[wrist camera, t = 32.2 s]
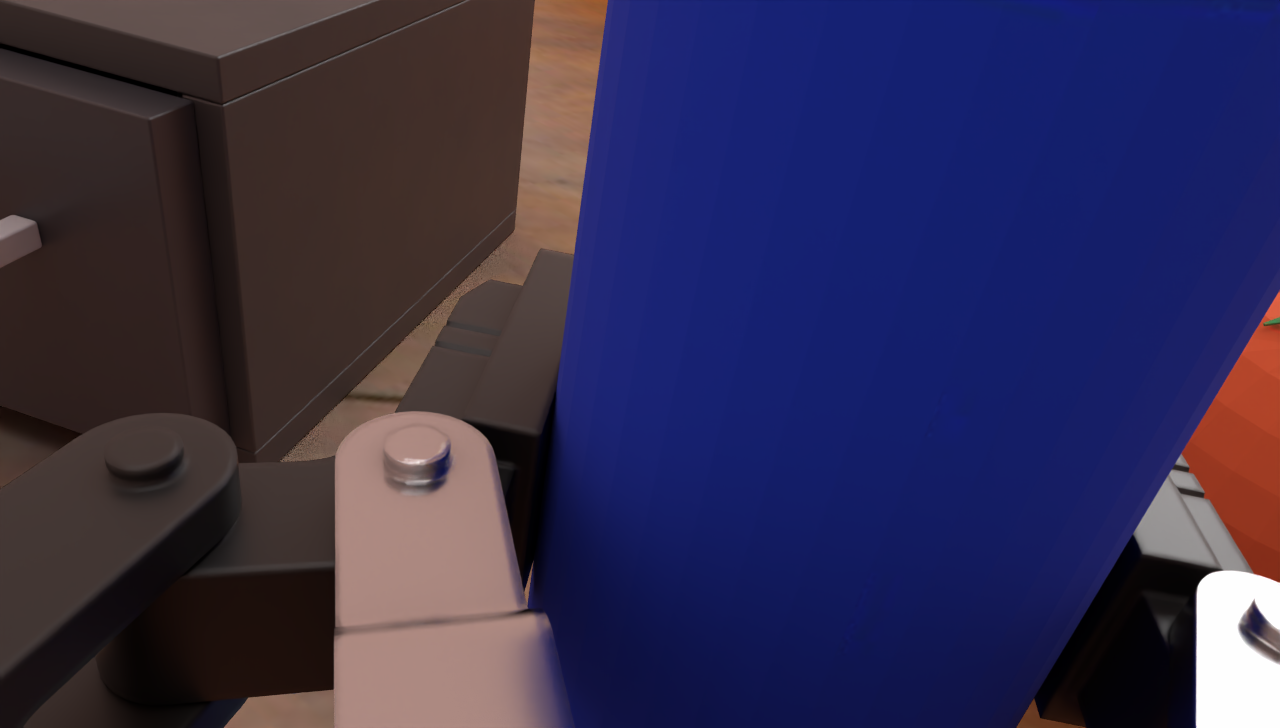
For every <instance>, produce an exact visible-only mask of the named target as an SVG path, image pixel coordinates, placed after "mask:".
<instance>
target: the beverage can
mask: <svg viewBox="0 0 1280 728" xmlns="http://www.w3.org/2000/svg"><path fill="white" fill-rule="evenodd" d="M1279 291H1280V0H608V5H607V13H606V20H605V28H604V35H603V43H602V50H601V58H600V65H599V73H598V80H597V88H596V95H595V103H594V110H593V118H592V125H591V133H590V140H589V148H588V155H587V163H586V170H585V178H584V185H583V193H582V200H581V208H580V215H579V223H578V230H577V238H576V245H575V253H574V260H573V268H572V275H571V283H570V290H569V298H568V305H567V313H566V320H565V328H564V336H563V343H562V351H561V358H560V366H559V373H558V381H557V388H556V396H555V403H554V411H553V418H552V426H551V433H550V441H549V448H548V456H547V463H546V471H545V478H544V486H543V493H542V501H541V508H540V516H539V523H538V531H537V538H536V546H535V553H534V561H533V568H532V576H531V583H530V591H529V598H528V606H527V607H528V609H532V608H542V609H543V610H544V611H545V613H546V615H547V617H548V619H549V622H550V625H551V628H552V631H553V635H554V639H555V644H556V648H557V652H558V656H559V661H560V665H561V669H562V674H563V678H564V682H565V687H566V691H567V695H568V700H569V704H570V708H571V712H572V717H573V721H574V725H575V728H1016V727H1017V725H1018V724H1019V722H1020V720H1021V719H1022V717H1023V715H1024V714H1025V712H1026V710H1027V709H1028V707H1029V705H1030V704H1031V702H1032V700H1033V699H1034V697H1035V695H1036V694H1037V692H1038V690H1039V689H1040V687H1041V686H1042V684H1043V682H1044V681H1045V679H1046V677H1047V676H1048V674H1049V672H1050V671H1051V669H1052V667H1053V666H1054V664H1055V662H1056V661H1057V659H1058V657H1059V656H1060V654H1061V652H1062V651H1063V649H1064V647H1065V646H1066V644H1067V642H1068V641H1069V639H1070V637H1071V636H1072V634H1073V632H1074V631H1075V629H1076V627H1077V626H1078V624H1079V622H1080V621H1081V619H1082V617H1083V616H1084V614H1085V613H1086V611H1087V609H1088V608H1089V606H1090V604H1091V603H1092V601H1093V599H1094V598H1095V596H1096V594H1097V593H1098V591H1099V589H1100V588H1101V586H1102V584H1103V583H1104V581H1105V579H1106V578H1107V576H1108V574H1109V573H1110V571H1111V569H1112V568H1113V566H1114V564H1115V563H1116V561H1117V559H1118V558H1119V556H1120V554H1121V553H1122V551H1123V549H1124V548H1125V546H1126V545H1127V543H1128V541H1129V540H1130V538H1131V536H1132V535H1133V533H1134V531H1135V530H1136V528H1137V526H1138V525H1139V523H1140V521H1141V520H1142V518H1143V516H1144V515H1145V513H1146V511H1147V510H1148V508H1149V506H1150V505H1151V503H1152V501H1153V500H1154V498H1155V496H1156V495H1157V493H1158V491H1159V490H1160V488H1161V486H1162V485H1163V483H1164V481H1165V480H1166V478H1167V476H1168V475H1169V473H1170V472H1171V470H1172V468H1173V467H1174V465H1175V463H1176V462H1177V460H1178V458H1179V457H1180V455H1181V453H1182V452H1183V450H1184V448H1185V447H1186V445H1187V443H1188V442H1189V440H1190V438H1191V437H1192V435H1193V433H1194V432H1195V430H1196V428H1197V427H1198V425H1199V423H1200V422H1201V420H1202V418H1203V417H1204V415H1205V413H1206V412H1207V410H1208V408H1209V407H1210V405H1211V404H1212V402H1213V400H1214V399H1215V397H1216V395H1217V394H1218V392H1219V390H1220V389H1221V387H1222V385H1223V384H1224V382H1225V380H1226V379H1227V377H1228V375H1229V374H1230V372H1231V370H1232V369H1233V367H1234V365H1235V364H1236V362H1237V360H1238V359H1239V357H1240V355H1241V354H1242V352H1243V350H1244V349H1245V347H1246V345H1247V344H1248V342H1249V340H1250V339H1251V337H1252V335H1253V334H1254V332H1255V331H1256V329H1257V327H1258V326H1259V324H1260V322H1261V321H1262V319H1263V317H1264V316H1265V314H1266V312H1267V311H1268V309H1269V307H1270V306H1271V304H1272V302H1273V301H1274V299H1275V297H1276V296H1277V294H1278V292H1279Z"/></svg>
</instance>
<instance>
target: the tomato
mask: <svg viewBox="0 0 1280 728" xmlns="http://www.w3.org/2000/svg"><path fill="white" fill-rule="evenodd" d="M1181 454H1182V455H1183V457H1184V459H1185V460H1186V462H1187V464H1188V465H1189V467H1190V468H1189V473H1193V474H1194V475H1195V477H1196V478H1197V480H1198V482H1199V483H1200V485H1201V487H1202V488H1203V490H1204V492H1205V494H1204V499H1209V500H1210V502H1211V503H1212V505H1213V507H1214V508H1215V510H1216V512H1217V513H1218V515H1219V517H1220V518H1221V520H1222V521H1223V523H1224V525H1225V526H1226V528H1227V530H1228V531H1229V533H1230V535H1231V536H1232V538H1233V540H1234V541H1235V543H1236V545H1237V546H1238V548H1239V550H1240V551H1241V553H1242V555H1243V556H1244V558H1245V560H1246V561H1247V563H1248V564H1249V566H1250V568H1251V569H1252V571H1253V573H1254V574H1255V575H1259V576H1263V577H1265V578H1268V579H1271V580H1274V581H1276V582H1278V583H1280V291H1279V292H1278V294H1277V296H1276V297H1275V299H1274V301H1273V302H1272V304H1271V306H1270V307H1269V309H1268V311H1267V312H1266V314H1265V316H1264V317H1263V319H1262V321H1261V322H1260V324H1259V326H1258V327H1257V329H1256V331H1255V332H1254V334H1253V335H1252V337H1251V339H1250V340H1249V342H1248V344H1247V345H1246V347H1245V349H1244V350H1243V352H1242V354H1241V355H1240V357H1239V359H1238V360H1237V362H1236V364H1235V365H1234V367H1233V369H1232V370H1231V372H1230V374H1229V375H1228V377H1227V379H1226V380H1225V382H1224V384H1223V385H1222V387H1221V389H1220V390H1219V392H1218V394H1217V395H1216V397H1215V399H1214V400H1213V402H1212V404H1211V405H1210V407H1209V408H1208V410H1207V412H1206V413H1205V415H1204V417H1203V418H1202V420H1201V422H1200V423H1199V425H1198V427H1197V428H1196V430H1195V432H1194V433H1193V435H1192V437H1191V438H1190V440H1189V442H1188V443H1187V445H1186V447H1185V448H1184V450H1183V452H1182V453H1181Z"/></svg>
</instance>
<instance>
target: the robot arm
mask: <svg viewBox="0 0 1280 728" xmlns="http://www.w3.org/2000/svg"><path fill="white" fill-rule="evenodd" d="M573 260H574V255H572V254H567V253H562V252H557V251H552V250H547V249H540V250H539V252H538V254H537V256H536V259H535V261H534V263H533V265H532V267H531V269H530V272H529V274H528V276H527V278H526V280H525V282H524V284H523V286H521V285H516V284H510V283H505V282H500V281H495V280H488V281H486V282H485V283H483V284H481V285H480V286H478V287H476V288H475V289H473V290H471V291H470V292H468V293H466V294H465V295H463V296H461V297H460V299H459V301H458V303H457V304H456V306H455V308H454V310H453V311H452V313H451V315H450V317H449V318H448V320H447V324H446V326H444V327H443V329H442V331H441V332H440V334H439V336H438V338H437V339H436V342H435V346H432V348H431V350H430V352H429V353H428V355H427V357H426V359H425V360H424V362H423V364H422V366H421V367H420V369H419V371H418V373H417V374H416V376H415V378H414V380H413V381H412V383H411V385H410V387H409V388H408V390H407V392H406V394H405V395H404V397H403V399H402V401H401V402H400V404H399V406H398V408H397V409H396V411H395V413H393V414H388V415H384V416H381V417H377V418H374V419H372V420H370V421H368V422H365V423H363V424H362V425H360V426H358V427H357V428H355V429H354V430H353V431H351V432H350V433H349V434H348V435H347V436H346V437H345V438H344V440H343V441H342V442H341V444H340V445H339V448H338V450H337V452H336V456H333V457H329V458H324V459H318V460H311V461H298V462H264V463H238V456H237V450H236V446H235V444H234V442H233V440H232V438H231V437H230V436H229V435H228V434H227V433H226V432H225V431H224V430H223V429H221V428H220V427H219V426H217V425H216V424H213V423H211V422H209V421H207V420H205V419H201V418H198V417H194V416H190V415H184V414H176V413H148V414H141V415H133V416H129V417H125V418H120V419H117V420H114V421H111V422H108V423H104V424H102V425H100V426H97V427H95V428H93V429H91V430H89V431H87V432H85V433H84V434H82V435H80V436H79V437H77V438H75V439H74V440H72V441H71V442H69V443H68V444H66V445H65V446H64V447H62V448H61V449H59V450H58V451H56V452H55V453H53V454H52V455H50V456H49V457H47V458H46V459H44V460H43V461H41V462H40V463H38V464H37V465H35V466H34V467H32V468H31V469H29V470H28V471H26V472H25V473H23V474H22V475H20V476H19V477H17V478H16V479H14V480H13V481H12V482H10V483H9V484H7V485H6V486H4V487H3V488H1V489H0V728H224V726H225V725H226V724H227V723H228V722H229V721H230V719H231V718H232V717H233V716H234V715H235V714H236V712H237V711H238V710H239V709H240V708H241V707H242V705H243V704H244V703H245V701H246V700H247V698H248V697H259V696H269V695H280V694H291V693H301V692H312V691H323V690H333V689H334V728H575V725H574V721H573V717H572V712H571V708H570V704H569V700H568V695H567V691H566V687H565V682H564V678H563V674H562V669H561V665H560V661H559V656H558V652H557V648H556V644H555V639H554V635H553V631H552V628H551V625H550V622H549V619H548V617H547V615H546V613H545V611H544V610H543V609H542V608H532V609H528V607H527V604H526V599H525V595H524V591H525V588H526V584H527V581H528V577H529V574H530V570H531V567H532V563H533V560H534V553H535V546H536V538H537V531H538V523H539V516H540V508H541V501H542V493H543V486H544V478H545V471H546V463H547V456H548V448H549V441H550V433H551V426H552V418H553V411H554V403H555V396H556V388H557V381H558V373H559V366H560V358H561V351H562V343H563V336H564V328H565V320H566V313H567V305H568V298H569V290H570V283H571V275H572V268H573ZM1189 468H1190V467H1189V465H1188V464H1187V462H1186V460H1185V459H1184V457H1183V455H1182V454H1181V455H1180V457H1179V458H1178V460H1177V462H1176V463H1175V465H1174V467H1173V468H1172V470H1171V472H1170V473H1169V475H1168V476H1167V478H1166V480H1165V481H1164V483H1163V485H1162V486H1161V488H1160V490H1159V491H1158V493H1157V495H1156V496H1155V498H1154V500H1153V501H1152V503H1151V505H1150V506H1149V508H1148V510H1147V511H1146V513H1145V515H1144V516H1143V518H1142V520H1141V521H1140V523H1139V525H1138V526H1137V528H1136V530H1135V531H1134V533H1133V535H1132V536H1131V538H1130V540H1129V541H1128V543H1127V545H1126V546H1125V548H1124V549H1123V551H1122V553H1121V554H1120V556H1119V558H1118V559H1117V561H1116V563H1115V564H1114V566H1113V568H1112V569H1111V571H1110V573H1109V574H1108V576H1107V578H1106V579H1105V581H1104V583H1103V584H1102V586H1101V588H1100V589H1099V591H1098V593H1097V594H1096V596H1095V598H1094V599H1093V601H1092V603H1091V604H1090V606H1089V608H1088V609H1087V611H1086V613H1085V614H1084V616H1083V617H1082V619H1081V621H1080V622H1079V624H1078V626H1077V627H1076V629H1075V631H1074V632H1073V634H1072V636H1071V637H1070V639H1069V641H1068V642H1067V644H1066V646H1065V647H1064V649H1063V651H1062V652H1061V654H1060V656H1059V657H1058V659H1057V661H1056V662H1055V664H1054V666H1053V667H1052V669H1051V671H1050V672H1049V674H1048V676H1047V677H1046V679H1045V681H1044V682H1043V684H1042V686H1041V687H1040V689H1039V690H1038V692H1037V694H1036V695H1035V697H1034V698H1035V702H1036V705H1037V708H1038V712H1039V715H1040V718H1042V719H1047V720H1052V721H1057V722H1062V723H1067V724H1072V725H1078V726H1083V727H1087V728H1280V583H1278V582H1276V581H1274V580H1271V579H1268V578H1265V577H1263V576H1259V575H1255V574H1254V573H1253V571H1252V569H1251V568H1250V566H1249V564H1248V563H1247V561H1246V560H1245V558H1244V556H1243V555H1242V553H1241V551H1240V550H1239V548H1238V546H1237V545H1236V543H1235V541H1234V540H1233V538H1232V536H1231V535H1230V533H1229V531H1228V530H1227V528H1226V526H1225V525H1224V523H1223V521H1222V520H1221V518H1220V517H1219V515H1218V513H1217V512H1216V510H1215V508H1214V507H1213V505H1212V503H1211V502H1210V500H1209V499H1204V494H1205V492H1204V490H1203V488H1202V487H1201V485H1200V483H1199V482H1198V480H1197V478H1196V477H1195V475H1194V474H1193V473H1189Z"/></svg>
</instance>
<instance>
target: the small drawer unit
mask: <svg viewBox="0 0 1280 728" xmlns="http://www.w3.org/2000/svg"><path fill="white" fill-rule="evenodd" d="M534 3H535V0H0V43H1V44H5V45H8V46H12V47H16V48H19V49H23V50H27V51H30V52H34V53H37V54H41V55H45V56H48V57H52V58H56V59H59V60H63V61H67V62H70V63H74V64H78V65H81V66H85V67H89V68H92V69H96V70H99V71H103V72H107V73H110V74H114V75H118V76H121V77H125V78H129V79H132V80H136V81H140V82H143V83H147V84H151V85H154V86H158V87H161V88H165V89H169V90H172V91H176V92H180V93H183V96H182V98H183V99H187V100H191V101H193V103H194V112H195V121H196V130H197V139H198V148H199V157H200V166H201V175H202V183H203V192H204V201H205V210H206V219H207V228H208V237H209V246H210V255H211V264H212V273H213V281H214V290H215V299H216V308H217V317H218V326H219V335H220V344H221V353H222V362H223V371H224V380H225V388H226V397H227V406H228V415H229V424H230V433H231V438H232V440H233V442H234V444H235V446H236V450H237V456H238V463H264V462H278V461H279V460H280V459H281V458H282V457H283V456H284V455H285V454H286V453H287V452H288V451H289V450H290V449H292V448H293V447H294V446H295V445H296V444H297V443H298V442H299V441H300V440H301V439H302V438H303V437H304V436H305V435H306V434H307V433H308V432H309V431H310V430H311V429H312V428H313V427H314V426H315V425H316V424H317V423H318V422H319V421H320V420H321V419H322V418H323V417H324V416H325V415H326V414H327V413H328V412H329V411H330V410H331V409H332V408H333V407H334V406H335V405H336V404H337V403H338V402H339V401H340V400H341V399H343V398H344V397H345V396H346V395H347V394H348V393H349V392H350V391H351V390H352V389H353V388H354V387H355V386H356V385H357V384H358V383H359V382H360V381H361V380H362V379H363V378H364V377H365V376H366V375H367V374H368V373H369V372H370V371H371V370H372V369H373V368H374V367H375V366H376V365H377V364H378V363H379V362H380V361H381V360H382V359H383V358H384V357H385V356H386V355H387V354H388V353H389V352H390V351H391V350H392V349H394V348H395V347H396V346H397V345H398V344H399V343H400V342H401V341H402V340H403V339H404V338H405V337H406V336H407V335H408V334H409V333H410V332H411V331H412V330H413V329H414V328H415V327H416V326H417V325H418V324H419V323H420V322H421V321H422V320H423V319H424V318H425V317H426V316H427V315H428V314H429V313H430V312H431V311H432V310H433V309H434V308H435V307H436V306H437V305H438V304H439V303H440V302H441V301H442V300H443V299H445V298H446V297H447V296H448V295H449V294H450V293H451V292H452V291H453V290H454V289H455V288H456V287H457V286H458V285H459V284H460V283H461V282H462V281H463V280H464V279H465V278H466V277H467V276H468V275H469V274H470V273H471V272H472V271H473V270H474V269H475V268H476V267H477V266H478V265H479V264H480V263H481V262H482V261H483V260H484V259H485V258H486V257H487V256H488V255H489V254H490V253H491V252H492V251H493V250H494V249H496V248H497V247H498V246H499V245H500V244H501V243H502V242H503V241H504V240H505V239H506V238H507V237H508V236H509V235H510V234H511V233H512V232H513V231H514V228H515V217H516V205H517V194H518V182H519V171H520V160H521V149H522V137H523V126H524V115H525V104H526V92H527V81H528V70H529V59H530V48H531V36H532V25H533V14H534Z"/></svg>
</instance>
